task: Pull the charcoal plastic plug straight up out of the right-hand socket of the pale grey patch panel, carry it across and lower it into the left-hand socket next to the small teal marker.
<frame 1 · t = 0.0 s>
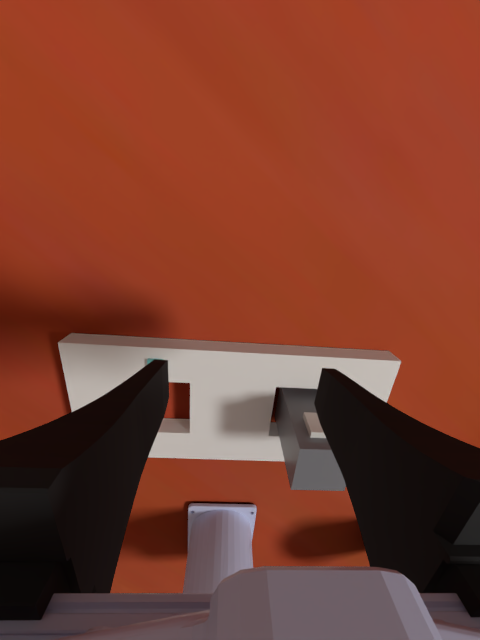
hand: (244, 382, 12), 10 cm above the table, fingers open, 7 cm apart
plug: (297, 400, 25), resting in panel
panel: (231, 397, 24), on the table
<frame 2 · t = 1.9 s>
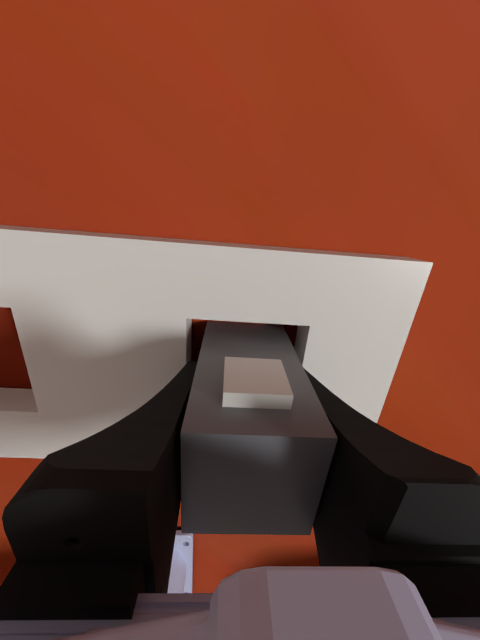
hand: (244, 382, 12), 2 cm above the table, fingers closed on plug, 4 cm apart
plug: (242, 356, 14), resting in panel, touching gripper
panel: (122, 350, 14), on the table
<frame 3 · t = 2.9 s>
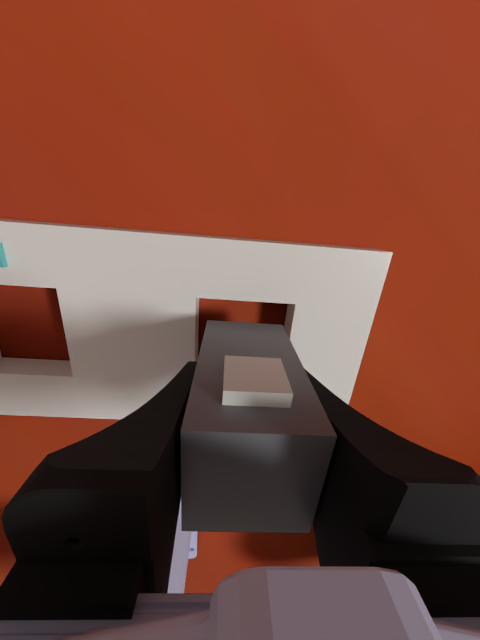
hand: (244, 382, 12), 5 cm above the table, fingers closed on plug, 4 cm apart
plug: (242, 355, 14), point 3 cm above the table, touching gripper
panel: (141, 327, 16), on the table
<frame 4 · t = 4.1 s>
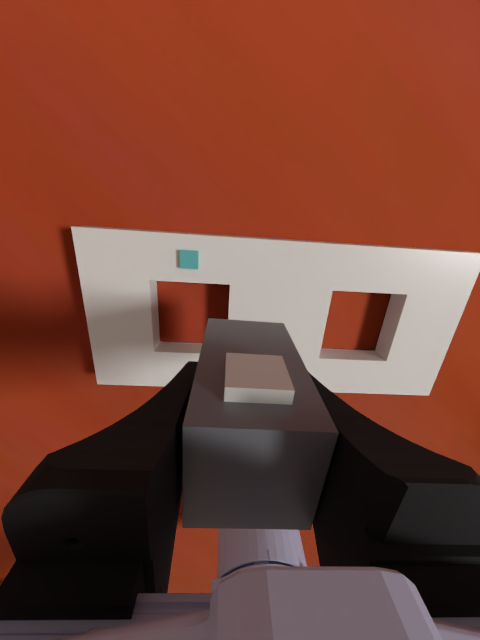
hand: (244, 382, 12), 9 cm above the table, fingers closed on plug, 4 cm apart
plug: (243, 353, 14), point 7 cm above the table, touching gripper
panel: (273, 315, 21), on the table
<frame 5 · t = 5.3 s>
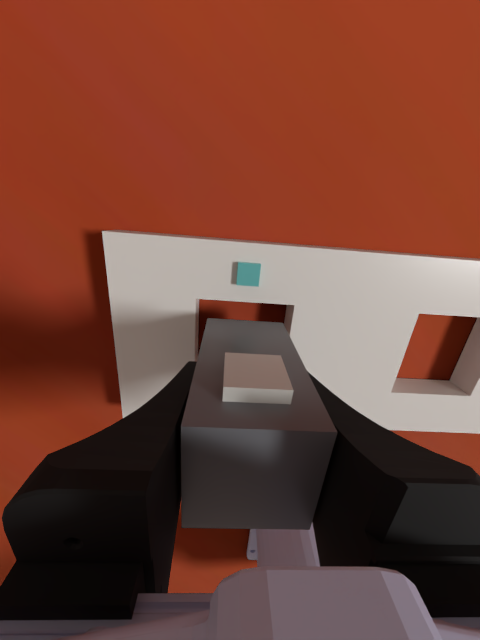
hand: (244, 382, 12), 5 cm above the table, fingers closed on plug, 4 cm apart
plug: (242, 353, 14), point 3 cm above the table, touching gripper
panel: (335, 339, 17), on the table
when the fingers open (3 cm above the table, at t = 6.2 s): plug stays where it is, resting in panel.
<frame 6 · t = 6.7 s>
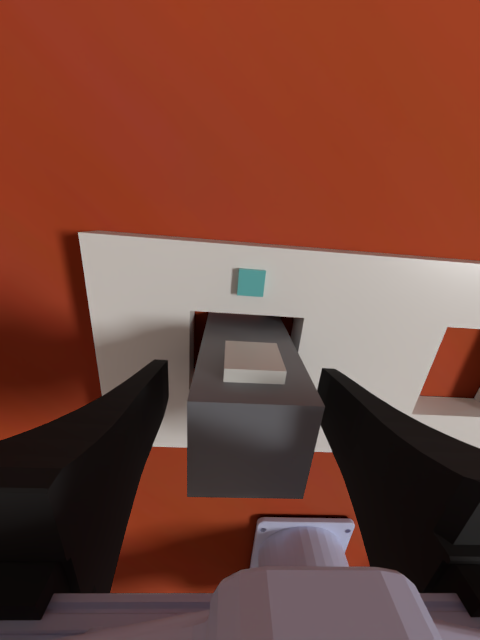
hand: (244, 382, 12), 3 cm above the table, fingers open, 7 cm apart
plug: (241, 345, 15), resting in panel
panel: (348, 354, 15), on the table
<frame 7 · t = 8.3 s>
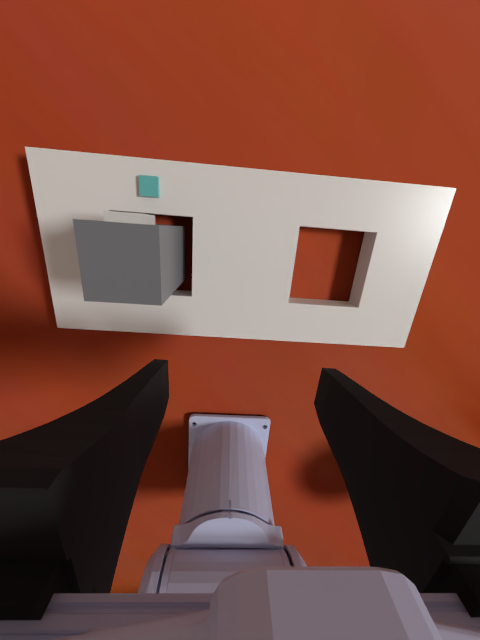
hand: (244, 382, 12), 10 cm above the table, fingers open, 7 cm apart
plug: (159, 251, 20), resting in panel
panel: (242, 259, 20), on the table
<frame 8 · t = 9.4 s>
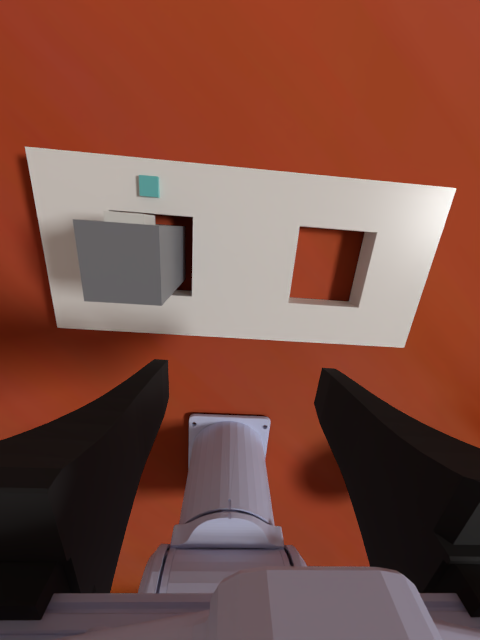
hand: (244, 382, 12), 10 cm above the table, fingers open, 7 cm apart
plug: (159, 251, 20), resting in panel
panel: (242, 259, 20), on the table
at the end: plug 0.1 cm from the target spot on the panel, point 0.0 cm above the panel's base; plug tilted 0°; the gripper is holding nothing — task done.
